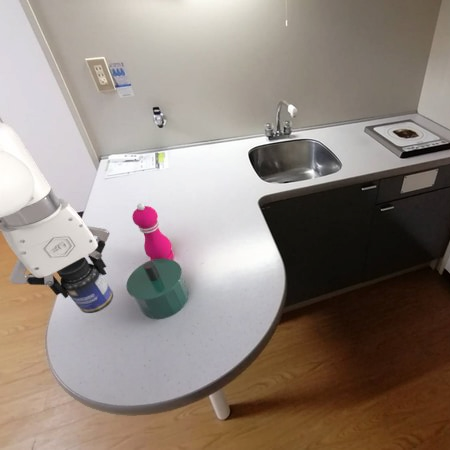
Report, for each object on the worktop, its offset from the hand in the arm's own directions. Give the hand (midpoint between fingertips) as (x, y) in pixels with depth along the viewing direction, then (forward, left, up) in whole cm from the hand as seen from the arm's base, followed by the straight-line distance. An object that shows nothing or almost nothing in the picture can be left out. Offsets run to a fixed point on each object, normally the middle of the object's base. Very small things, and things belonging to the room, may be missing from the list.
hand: (83, 281), depth 58 cm
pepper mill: (+20, +16, -21) cm, 33 cm away
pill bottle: (0, 0, -6) cm, 6 cm away
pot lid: (+12, +2, -12) cm, 17 cm away
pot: (+12, +2, -21) cm, 24 cm away
